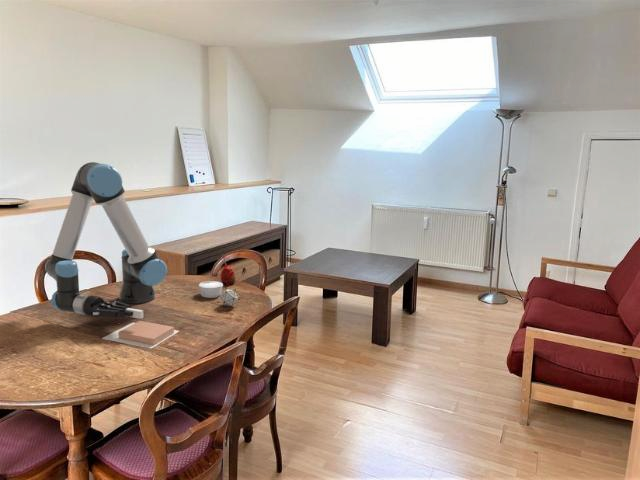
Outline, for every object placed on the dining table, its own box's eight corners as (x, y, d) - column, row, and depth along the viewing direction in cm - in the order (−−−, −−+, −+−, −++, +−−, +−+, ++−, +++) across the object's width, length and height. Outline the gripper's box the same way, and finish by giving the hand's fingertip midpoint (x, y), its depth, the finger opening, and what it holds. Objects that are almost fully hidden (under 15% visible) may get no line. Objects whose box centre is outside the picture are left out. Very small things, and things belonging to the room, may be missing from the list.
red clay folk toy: (230, 286, 244) (230, 257, 241) (217, 284, 246) (217, 255, 243) (237, 282, 251) (237, 253, 248) (225, 280, 253) (225, 252, 250)
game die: (233, 313, 218) (247, 295, 218) (224, 312, 210) (238, 294, 210) (220, 300, 222) (233, 283, 221) (210, 299, 214) (224, 281, 213)
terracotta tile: (118, 338, 177) (154, 345, 173) (118, 332, 177) (153, 338, 172) (140, 326, 188) (174, 333, 184) (140, 320, 188) (174, 326, 183)
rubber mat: (101, 340, 176) (101, 338, 176) (132, 323, 192) (132, 322, 192) (151, 350, 170) (151, 348, 170) (179, 332, 186) (179, 330, 186)
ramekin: (212, 289, 238) (212, 279, 237) (228, 295, 231) (228, 284, 230) (193, 294, 230) (193, 284, 228) (208, 300, 223) (208, 289, 222)
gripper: (102, 309, 193) (153, 318, 186) (76, 320, 181) (130, 330, 174) (101, 290, 192) (152, 299, 185) (75, 301, 179) (129, 310, 173)
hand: (142, 314), depth 179 cm, fingers closed
